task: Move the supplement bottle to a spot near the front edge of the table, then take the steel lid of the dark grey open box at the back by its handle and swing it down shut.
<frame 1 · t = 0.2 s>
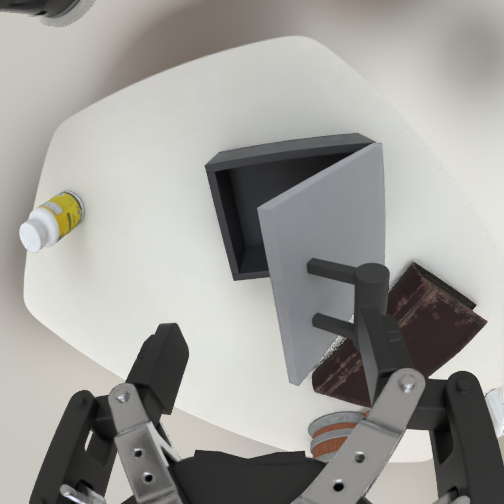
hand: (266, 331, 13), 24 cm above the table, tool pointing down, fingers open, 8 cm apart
diary: (397, 339, 44), on the table
mug: (345, 420, 57), on the table
lid: (376, 254, 20), point 15 cm above the table, hinge at 55.0°
supplement bottle: (71, 207, 38), on the table
dark grey open box: (297, 194, 34), on the table
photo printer: (489, 397, 53), on the table
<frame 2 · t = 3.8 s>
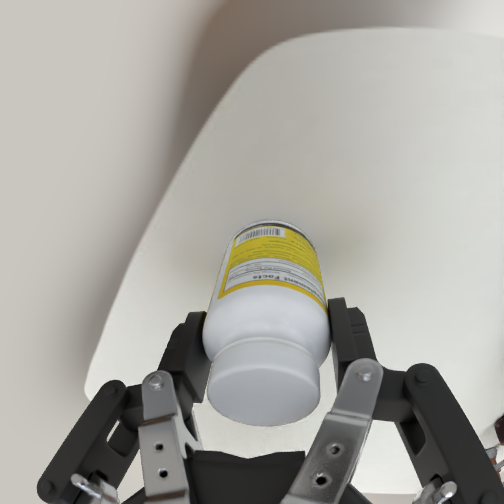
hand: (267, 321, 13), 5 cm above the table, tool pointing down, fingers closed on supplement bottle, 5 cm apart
supplement bottle: (272, 257, 18), on the table, touching gripper
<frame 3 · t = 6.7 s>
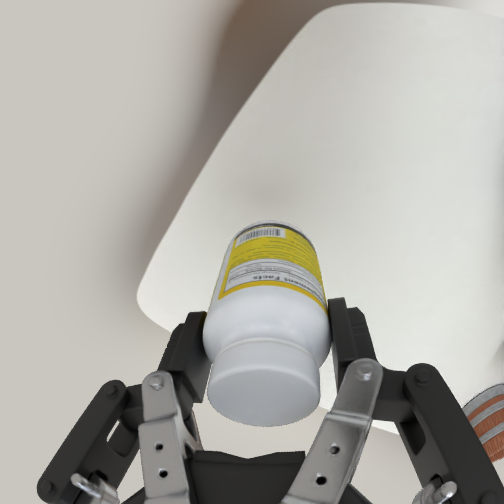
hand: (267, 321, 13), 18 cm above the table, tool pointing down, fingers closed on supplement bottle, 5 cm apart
mug: (491, 394, 44), on the table
supplement bottle: (272, 257, 18), point 12 cm above the table, touching gripper
when the fingers open (5 cm above the table, at t = 9.9 s): supplement bottle stays where it is, on the table.
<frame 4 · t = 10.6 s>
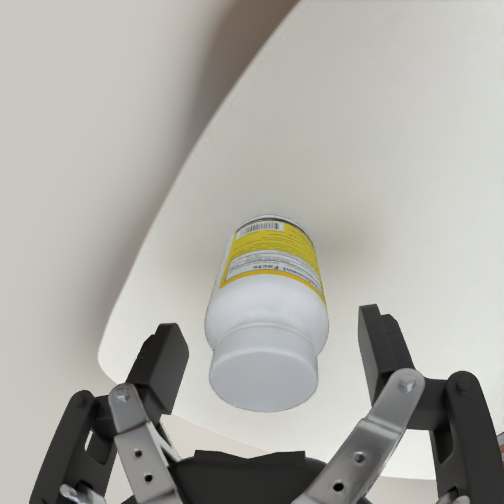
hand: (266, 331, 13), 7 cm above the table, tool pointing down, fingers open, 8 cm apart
supplement bottle: (271, 251, 19), on the table
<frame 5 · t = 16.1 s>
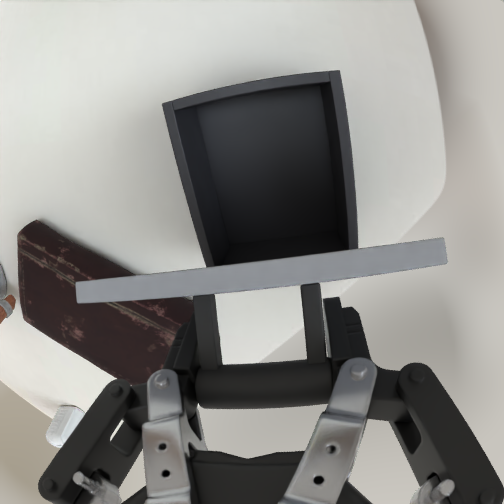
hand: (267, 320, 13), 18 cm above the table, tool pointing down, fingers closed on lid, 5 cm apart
diary: (103, 304, 38), on the table
lid: (276, 321, 16), point 15 cm above the table, hinge at 55.0°, touching gripper
dark grey open box: (271, 167, 27), on the table
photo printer: (72, 409, 60), on the table
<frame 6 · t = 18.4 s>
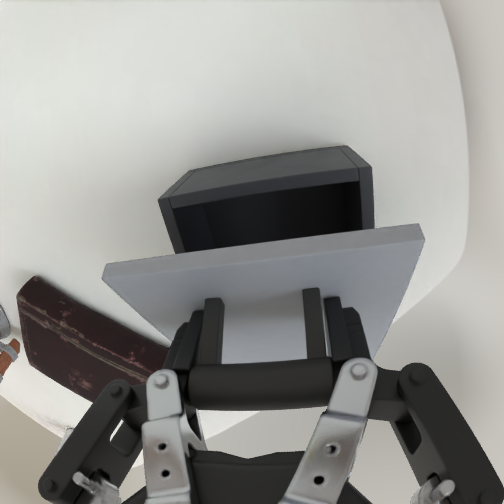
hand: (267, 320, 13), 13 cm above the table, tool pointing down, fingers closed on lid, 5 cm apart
diary: (109, 355, 37), on the table
lid: (281, 374, 16), point 13 cm above the table, hinge at 23.5°, touching gripper
dark grey open box: (282, 245, 26), on the table
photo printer: (80, 431, 59), on the table
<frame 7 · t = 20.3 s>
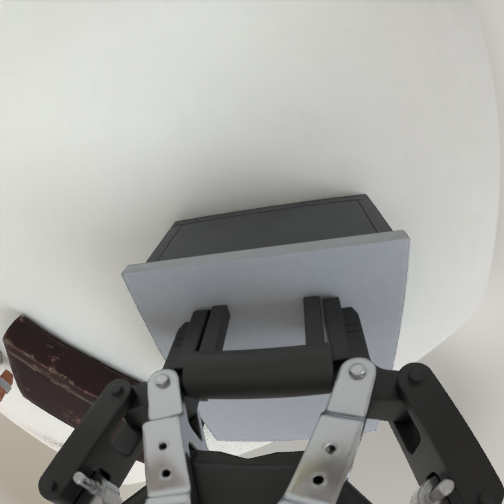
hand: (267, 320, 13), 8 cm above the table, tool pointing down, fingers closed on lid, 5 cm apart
diary: (103, 393, 34), on the table
lid: (281, 410, 14), point 10 cm above the table, hinge at -0.2°, touching gripper, dark grey open box
dark grey open box: (285, 303, 22), on the table
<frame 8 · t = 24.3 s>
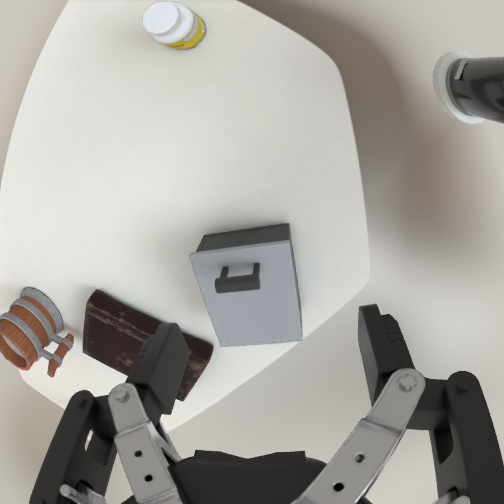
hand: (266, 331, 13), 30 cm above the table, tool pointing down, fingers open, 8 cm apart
diary: (145, 342, 58), on the table
mug: (50, 314, 59), on the table
lid: (248, 311, 39), point 10 cm above the table, hinge at -0.2°, touching dark grey open box
supplement bottle: (187, 32, 31), on the table
dark grey open box: (255, 274, 47), on the table
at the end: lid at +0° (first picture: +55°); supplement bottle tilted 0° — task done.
